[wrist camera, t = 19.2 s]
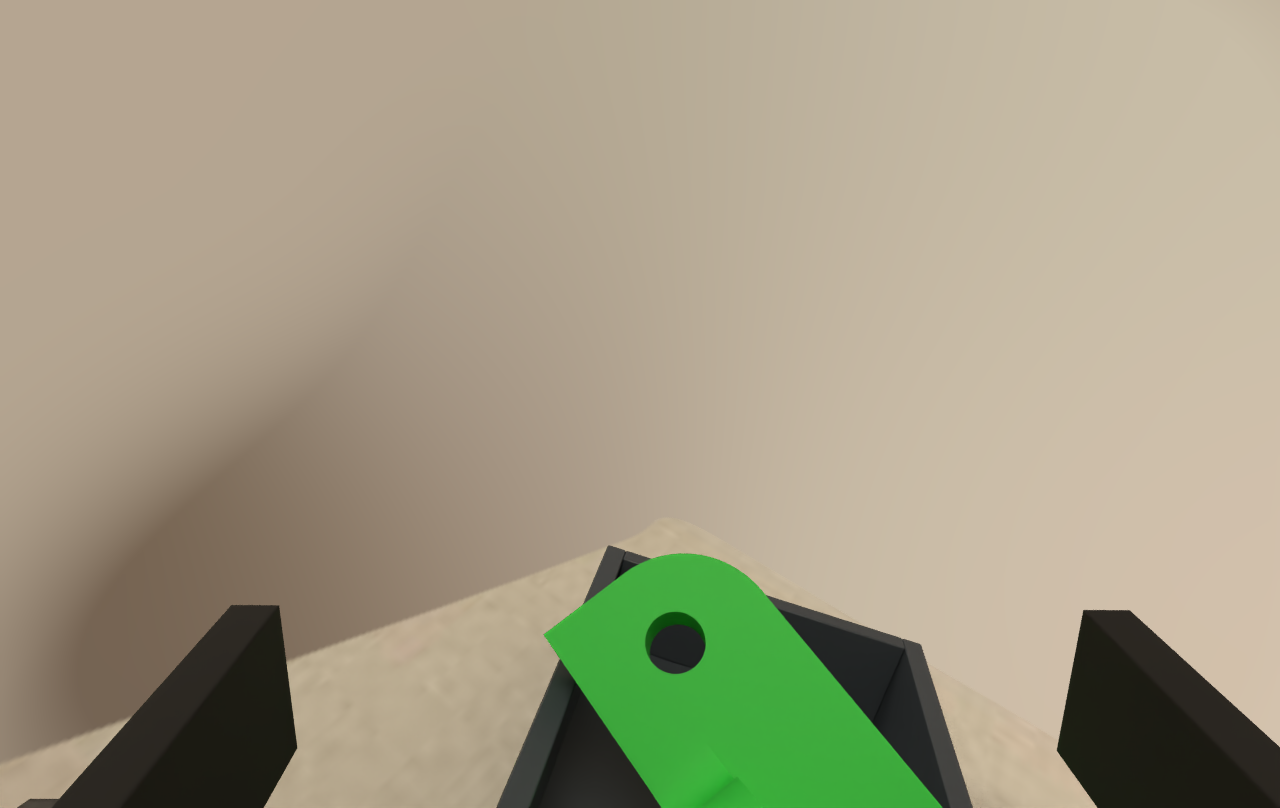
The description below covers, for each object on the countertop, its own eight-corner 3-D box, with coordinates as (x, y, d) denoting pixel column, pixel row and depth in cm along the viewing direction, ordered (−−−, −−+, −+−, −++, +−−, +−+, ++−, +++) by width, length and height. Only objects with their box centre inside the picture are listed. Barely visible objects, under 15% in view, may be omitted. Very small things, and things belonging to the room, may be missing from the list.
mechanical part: (968, 860, 23) (1083, 885, 16) (807, 1013, 22) (852, 1116, 15) (700, 534, 28) (695, 441, 21) (555, 645, 27) (496, 588, 19)
